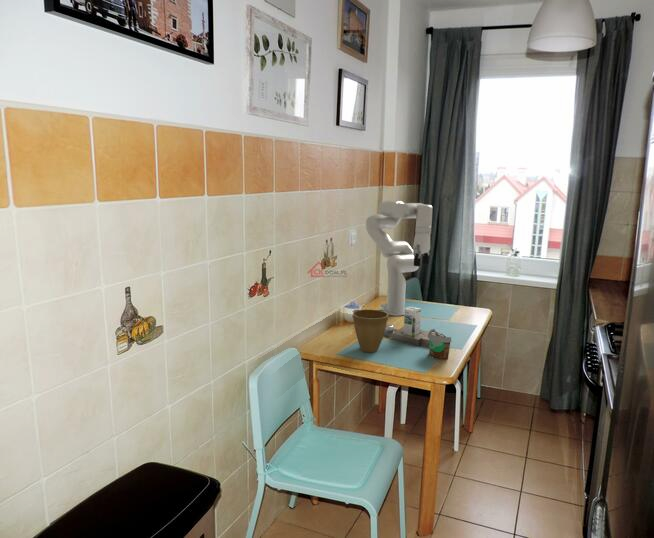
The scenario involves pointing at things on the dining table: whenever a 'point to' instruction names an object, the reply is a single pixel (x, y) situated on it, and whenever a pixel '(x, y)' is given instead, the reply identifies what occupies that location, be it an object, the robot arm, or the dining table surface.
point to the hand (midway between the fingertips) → (421, 264)
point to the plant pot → (370, 328)
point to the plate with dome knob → (390, 330)
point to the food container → (438, 345)
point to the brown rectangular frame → (419, 338)
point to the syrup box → (412, 321)
